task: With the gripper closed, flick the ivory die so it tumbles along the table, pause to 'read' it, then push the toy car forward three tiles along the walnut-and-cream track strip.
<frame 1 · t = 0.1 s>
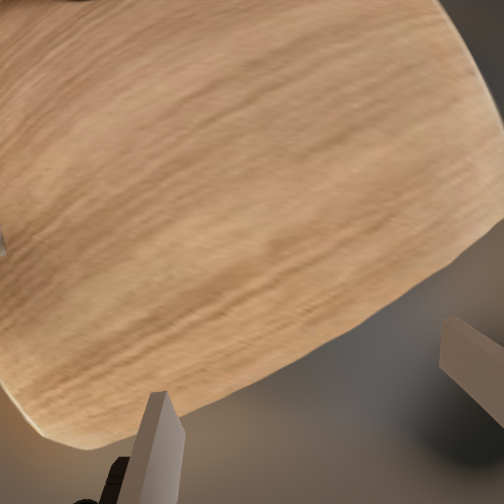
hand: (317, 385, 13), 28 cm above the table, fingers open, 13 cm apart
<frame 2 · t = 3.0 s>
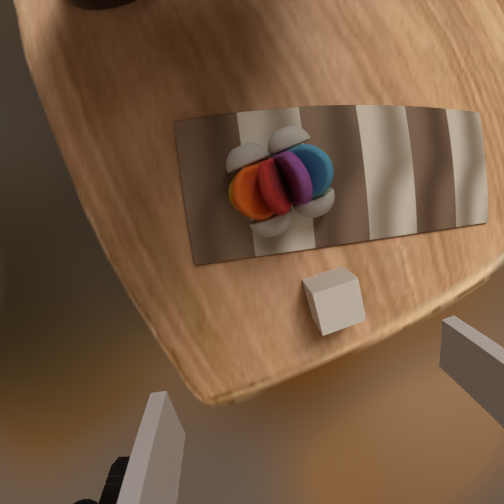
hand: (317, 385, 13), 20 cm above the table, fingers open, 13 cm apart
track: (363, 172, 31), on the table
toy car: (277, 180, 31), resting on track
die: (327, 292, 34), on the table
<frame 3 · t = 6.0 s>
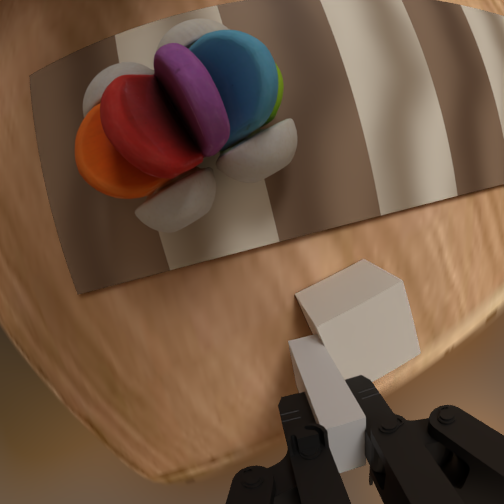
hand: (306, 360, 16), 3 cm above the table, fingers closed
track: (351, 95, 16), on the table
toy car: (190, 127, 16), resting on track
die: (343, 308, 19), on the table, touching gripper
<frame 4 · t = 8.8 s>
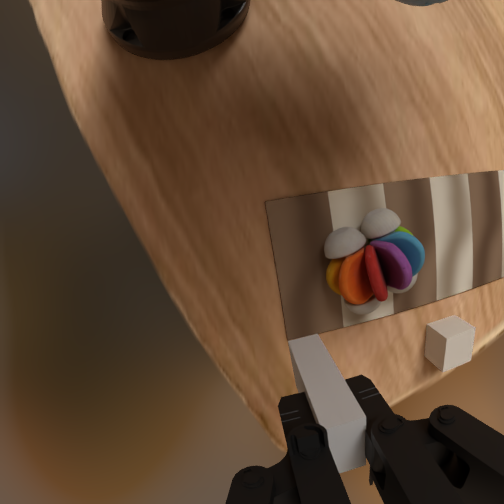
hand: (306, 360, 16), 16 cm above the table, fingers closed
track: (433, 241, 32), on the table
toy car: (364, 256, 32), resting on track
die: (439, 335, 34), on the table
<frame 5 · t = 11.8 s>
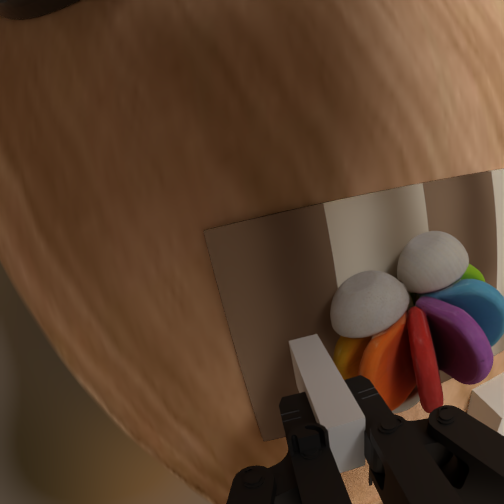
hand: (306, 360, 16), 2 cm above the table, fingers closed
track: (494, 273, 18), on the table
toy car: (398, 312, 17), resting on track, touching gripper
die: (485, 398, 20), on the table
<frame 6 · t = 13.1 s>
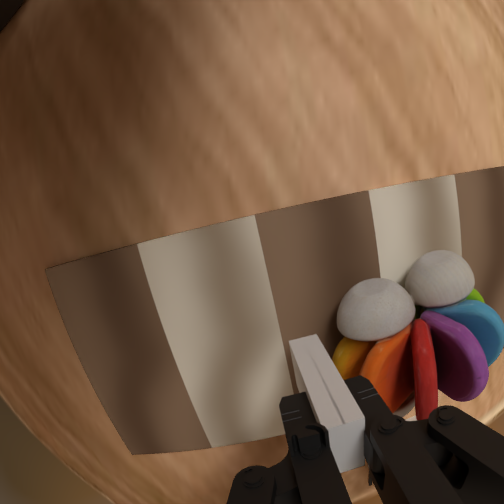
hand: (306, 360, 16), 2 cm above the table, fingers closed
track: (381, 312, 18), on the table
toy car: (397, 324, 18), resting on track, touching gripper
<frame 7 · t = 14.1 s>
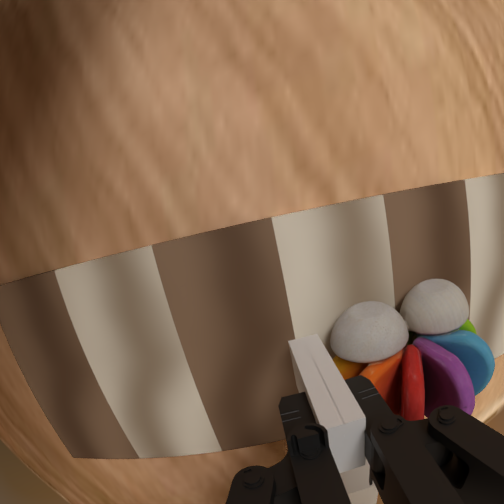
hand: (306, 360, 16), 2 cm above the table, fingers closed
track: (295, 343, 17), on the table
toy car: (388, 347, 18), resting on track, touching gripper
die: (330, 467, 20), on the table
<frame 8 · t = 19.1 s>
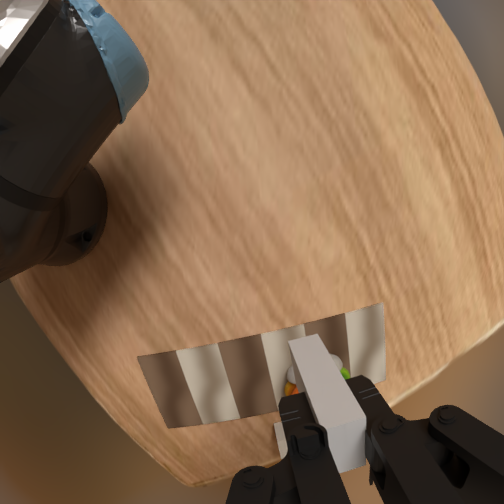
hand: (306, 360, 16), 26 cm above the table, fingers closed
track: (269, 374, 45), on the table
toy car: (314, 376, 46), resting on track
die: (288, 429, 48), on the table
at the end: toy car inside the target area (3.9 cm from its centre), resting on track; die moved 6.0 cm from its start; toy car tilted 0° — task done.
